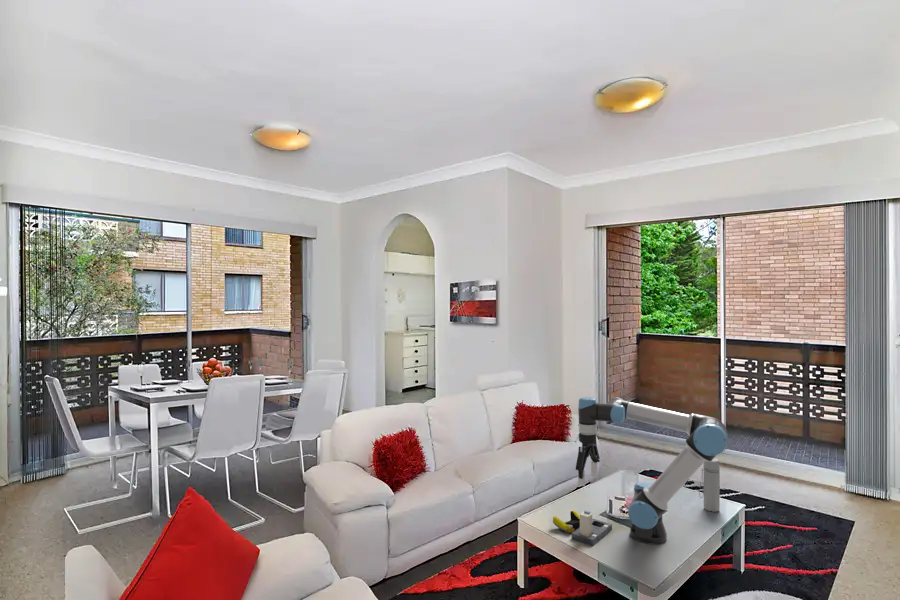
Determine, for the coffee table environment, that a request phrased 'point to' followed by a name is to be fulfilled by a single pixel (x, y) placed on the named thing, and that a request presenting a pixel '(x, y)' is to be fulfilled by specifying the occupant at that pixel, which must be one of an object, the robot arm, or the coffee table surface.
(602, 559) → the coffee table surface
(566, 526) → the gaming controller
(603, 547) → the coffee table surface
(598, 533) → the panel
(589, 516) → the plug
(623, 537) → the coffee table surface
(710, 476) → the water bottle
